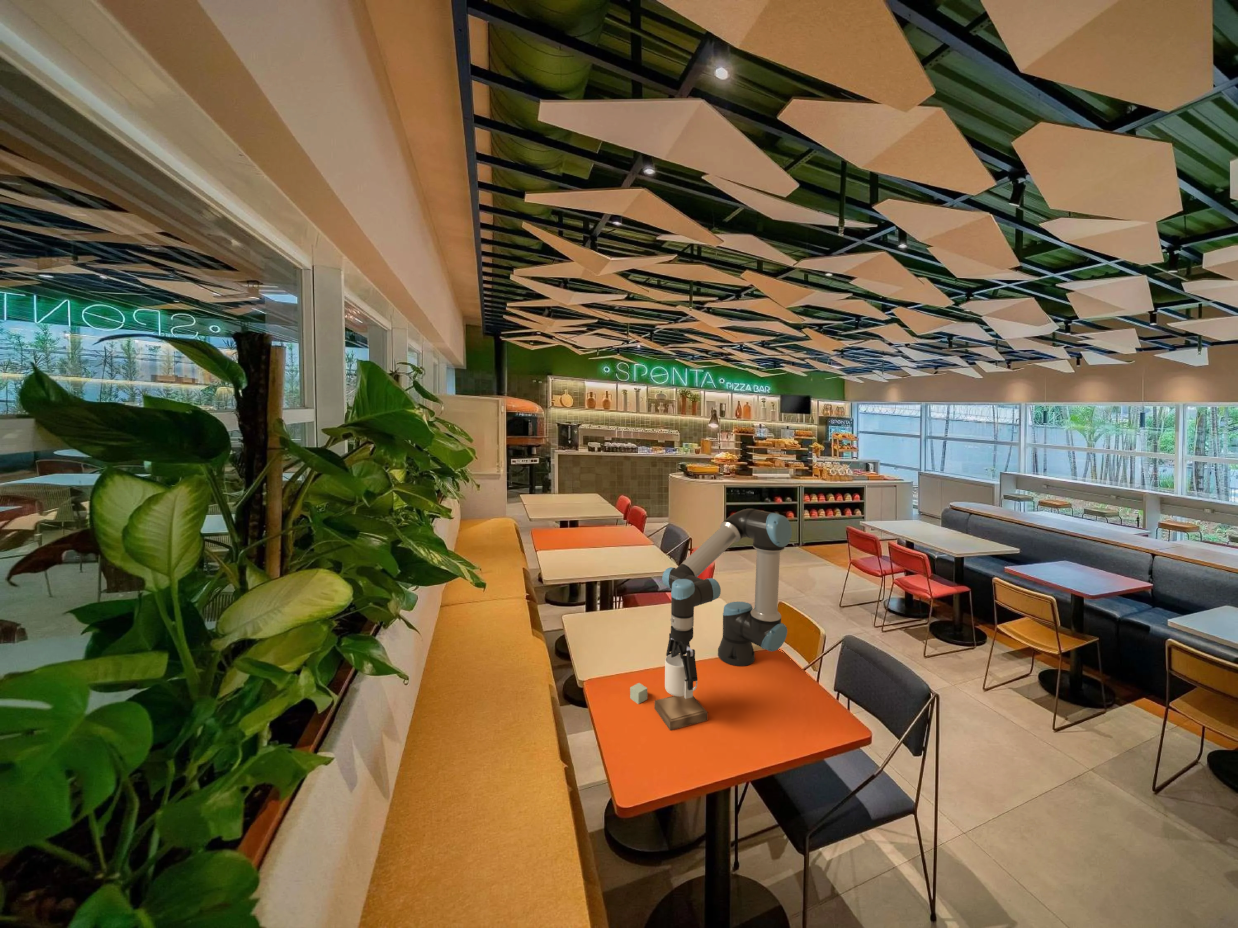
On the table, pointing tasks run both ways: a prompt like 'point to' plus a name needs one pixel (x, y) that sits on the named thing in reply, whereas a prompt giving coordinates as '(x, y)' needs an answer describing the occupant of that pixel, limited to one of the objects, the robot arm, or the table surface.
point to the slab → (680, 711)
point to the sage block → (638, 693)
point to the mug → (675, 676)
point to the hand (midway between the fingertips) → (680, 687)
